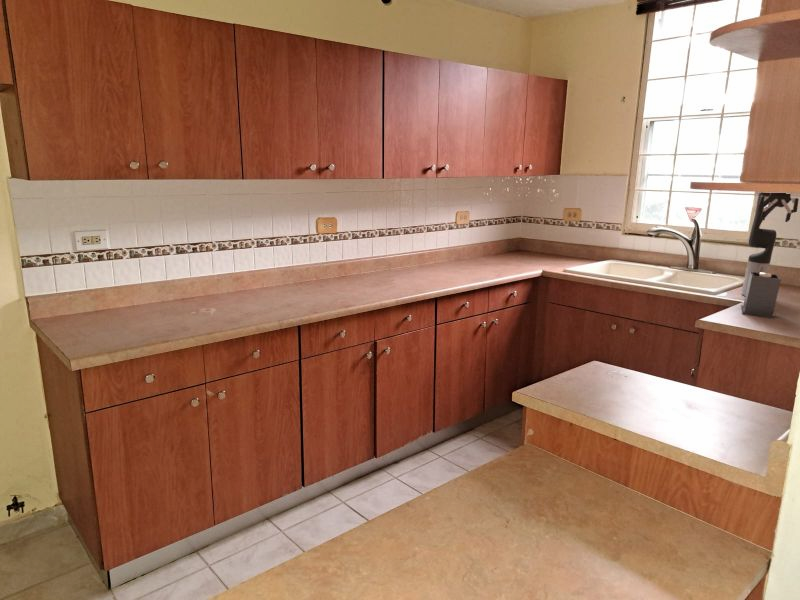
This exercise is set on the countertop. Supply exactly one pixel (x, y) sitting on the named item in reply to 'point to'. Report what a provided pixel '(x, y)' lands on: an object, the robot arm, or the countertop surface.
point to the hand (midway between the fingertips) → (774, 220)
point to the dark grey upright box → (761, 295)
